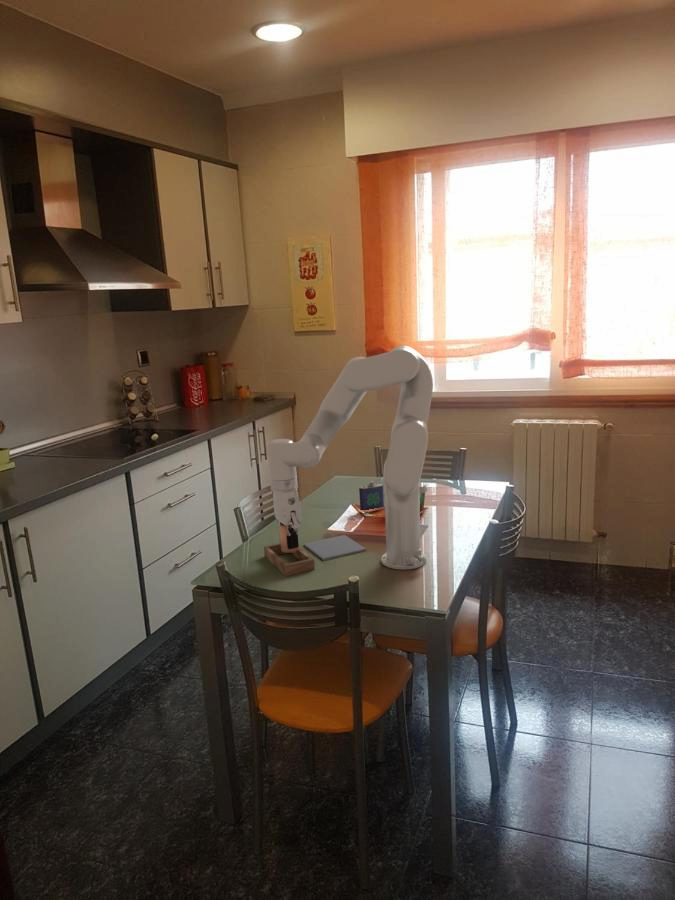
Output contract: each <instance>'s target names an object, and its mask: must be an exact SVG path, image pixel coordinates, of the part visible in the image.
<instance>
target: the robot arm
mask: <svg viewBox="0 0 675 900" xmlns="http://www.w3.org/2000/svg"><path fill="white" fill-rule="evenodd" d="M433 381H434V380H433V375H432V372H431V368H430V366H429V365H428V363H427V361H426V359H425V358H424V357H423V356H422V355H421V354H420V353H419V352H418V351H416V349H414V348H413V347H411V346H409V345H408V346H407V345H399V346H395V347H394V348H393V349H391V350H390V351H388V352H384V353H380V354H375V355H372V356H371V355H370V356H367V357H364V356H355V357H353V358H351V359H349V361H348V362H347V363H346V364H345V366H344V367H343V369H342V371H341V372H340V374H339V376H338V377H337V379H336V381H335V382H334V383H333V385H332V387H330V389H329V391H328V392H327V394H326V396H325V397H324V399H323V400H322V402H321V403H320V406H319V409H318V412H317V413H316V415H315V416H314V418H313V420H312V421H311V423H310V425H309V426H308V427H307V429H306V431H305V432H304V433H303V435H302V436H301V438H300V440H299V441H295V442H294V441H293V440H292V439H288V438H277V439H273V440H270V441H269V442H268V443H267V447H266V448H267V450H266V451H267V461H268V470H269V472H268V473H269V482H270V483H269V484H270V491H271V492H272V497H273V499H272V502H273V504H272V505H273V512H274V513H273V514H274V518H275V519H276V520H277V522H278V524H277V525H278V529H279V526H280V525H282V524H284V525H286V529H287V534H288V535H287V536H286V537H287V548H288V549H293V548H298V547H299V545H300V544H299V529H300V525H299V524H302V522H303V518H302V509H301V501H300V497H299V492H298V489H299V484H298V472H297V468H306V469H307V468H312V467H315V466H317V465H318V463H319V462H320V461H321V459H322V456H323V454H324V452H325V451H326V449H327V448H328V446H329V444H330V443H331V442H332V440H333V438H334V437H335V435H336V434H337V433H338V432H339V430H340V428H341V427H342V426H343V425H345V423H347V422H348V420H349V419H350V418H351V416H352V415H353V414H354V411H356V409H357V408H358V406H359V404H360V402H361V401H363V398H364V396H366V394H367V392H370V391H376V390H380V389H385V388H387V387H392V386H396V385H400V392H399V397H398V403H397V404H398V405H397V409H396V414H395V418H394V422H393V425H392V428H391V432H390V433H391V434H390V441H389V445H388V451H387V456H386V458H385V461H384V464H383V472H382V473H383V475H382V476H383V477H382V479H383V485H384V514H385V515H384V518H385V546H386V552H385V553H384V554H382V556H381V559H380V561H381V562H380V563H381V564H382V565H383V566H385V567H386V568H390V569H393V570H405V571H406V570H414V569H417V568H420V567H423V566H424V565H425V564H426V563H427V555H425V553H423V552H422V548H421V518H420V517H421V515H420V496H419V487H420V481H421V477H422V472H423V467H424V463H425V460H426V459H425V458H426V453H427V449H428V444H429V432H428V421H429V415H430V411H431V410H430V409H431V404H432V398H433V392H434V389H433V388H434V382H433ZM289 523H292V524H289ZM291 526H293V528H291V530H290V528H289V527H291ZM278 534H279V533H278ZM279 537H280V534H279ZM299 548H300V547H299Z"/></svg>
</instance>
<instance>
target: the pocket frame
mask: <svg viewBox="0 0 675 900" xmlns="http://www.w3.org/2000/svg"><path fill="white" fill-rule="evenodd" d="M263 552H264V553H263V554H264V557H265V558H266V559H267V560H268V561H269V562H270V563H271V564H272V565H274V567H275V568H276V569H278V570H279V571H280V572H281V573H282V574H283V576H285V577H288V576H292V575H297V574H301V573H304V572H310V571H313V570H315V558H313V557H312V556H311V555H309V553H307V552H306V551H304V550H303V549H302V548H301V547H298V550H297V551H295V552H290V554H292V555H293V556H294V557H295V558H297V560H298V561H294V562H289V563H287V562H286V561H285V560H284V559H282V557H280V556H279V555H282V554H286V553H285V552H282V551H281V545H280V542H278V543H274V544H269V545H265V546H263Z"/></svg>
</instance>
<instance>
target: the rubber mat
mask: <svg viewBox="0 0 675 900" xmlns="http://www.w3.org/2000/svg"><path fill="white" fill-rule="evenodd" d="M303 546H304V547H305V548H306V549H308V550H309V551H310V552H312V553H313V554H314V555H315V556H317V557H318V558H319V559H321V560H322V561H327V560H331V559H332V560H333V559H336V558H340V557H345V556H349V555H354V554H356V553H361V552H366V551H367V548H366V547H365V546H362V545H361V544H360V543H358V542H356V541H355V540H353V539H351V538H350V537H349V536H347V535H346V534H343V535H338V536H333V537H329V538H324V539H319V540H314V541H311V542H305V543H303Z"/></svg>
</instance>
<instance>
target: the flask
mask: <svg viewBox="0 0 675 900" xmlns="http://www.w3.org/2000/svg"><path fill="white" fill-rule="evenodd" d="M369 482H370V483H369V484H368V485H367V484H366V485H362V486H361V487H359V489H358V490H359V491H358V492H359V509H360V510H369V509H374V508H380V507H384V508H385V491H384V483H383V484H382V483H378V484H375V482H374V481H373V480H372V481H371V480H370V481H369Z"/></svg>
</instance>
